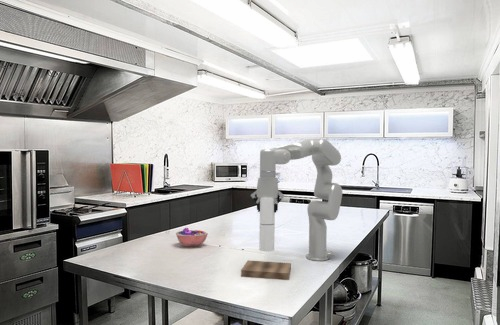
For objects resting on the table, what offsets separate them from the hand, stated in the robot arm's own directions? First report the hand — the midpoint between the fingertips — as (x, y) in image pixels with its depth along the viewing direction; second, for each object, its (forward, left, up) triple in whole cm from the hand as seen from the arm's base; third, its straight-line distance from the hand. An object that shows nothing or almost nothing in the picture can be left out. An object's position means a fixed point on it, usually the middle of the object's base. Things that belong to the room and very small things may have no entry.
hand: (267, 211), depth 171 cm
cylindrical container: (0, 0, -18) cm, 18 cm away
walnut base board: (0, 0, -29) cm, 29 cm away
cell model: (+53, -41, -30) cm, 73 cm away
